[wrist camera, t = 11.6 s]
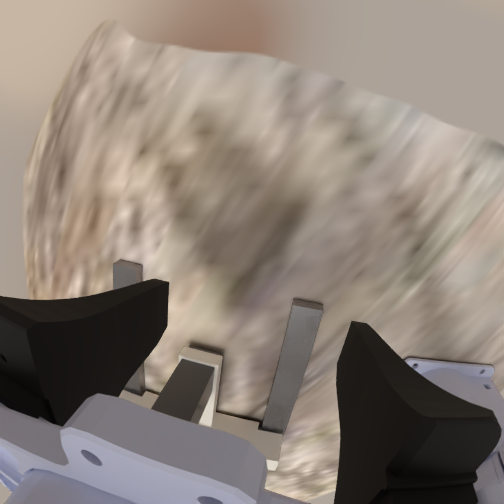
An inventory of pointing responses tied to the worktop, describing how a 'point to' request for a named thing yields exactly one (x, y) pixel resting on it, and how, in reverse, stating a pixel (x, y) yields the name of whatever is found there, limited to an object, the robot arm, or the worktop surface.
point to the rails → (290, 362)
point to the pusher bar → (205, 401)
